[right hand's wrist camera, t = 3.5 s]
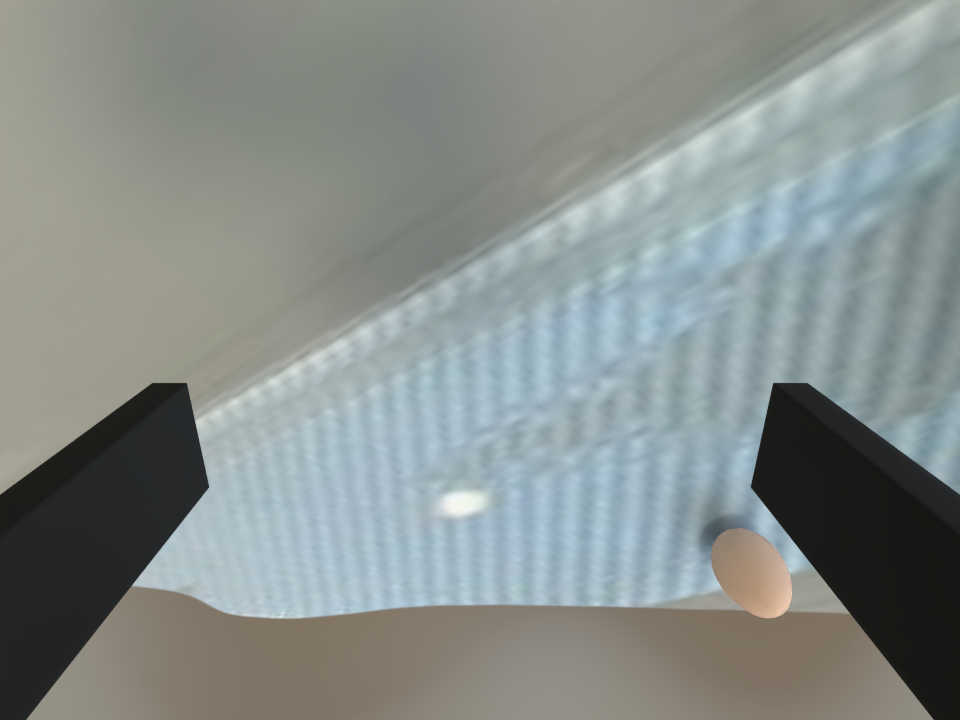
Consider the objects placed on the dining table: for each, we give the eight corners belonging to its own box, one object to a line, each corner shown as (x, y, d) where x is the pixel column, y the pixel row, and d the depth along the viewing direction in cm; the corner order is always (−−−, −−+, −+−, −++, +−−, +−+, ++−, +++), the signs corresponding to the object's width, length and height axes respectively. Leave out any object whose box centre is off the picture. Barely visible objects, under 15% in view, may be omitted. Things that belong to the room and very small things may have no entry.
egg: (710, 569, 49) (752, 647, 42) (689, 526, 47) (730, 600, 40) (767, 546, 48) (821, 622, 41) (748, 502, 47) (801, 573, 39)
